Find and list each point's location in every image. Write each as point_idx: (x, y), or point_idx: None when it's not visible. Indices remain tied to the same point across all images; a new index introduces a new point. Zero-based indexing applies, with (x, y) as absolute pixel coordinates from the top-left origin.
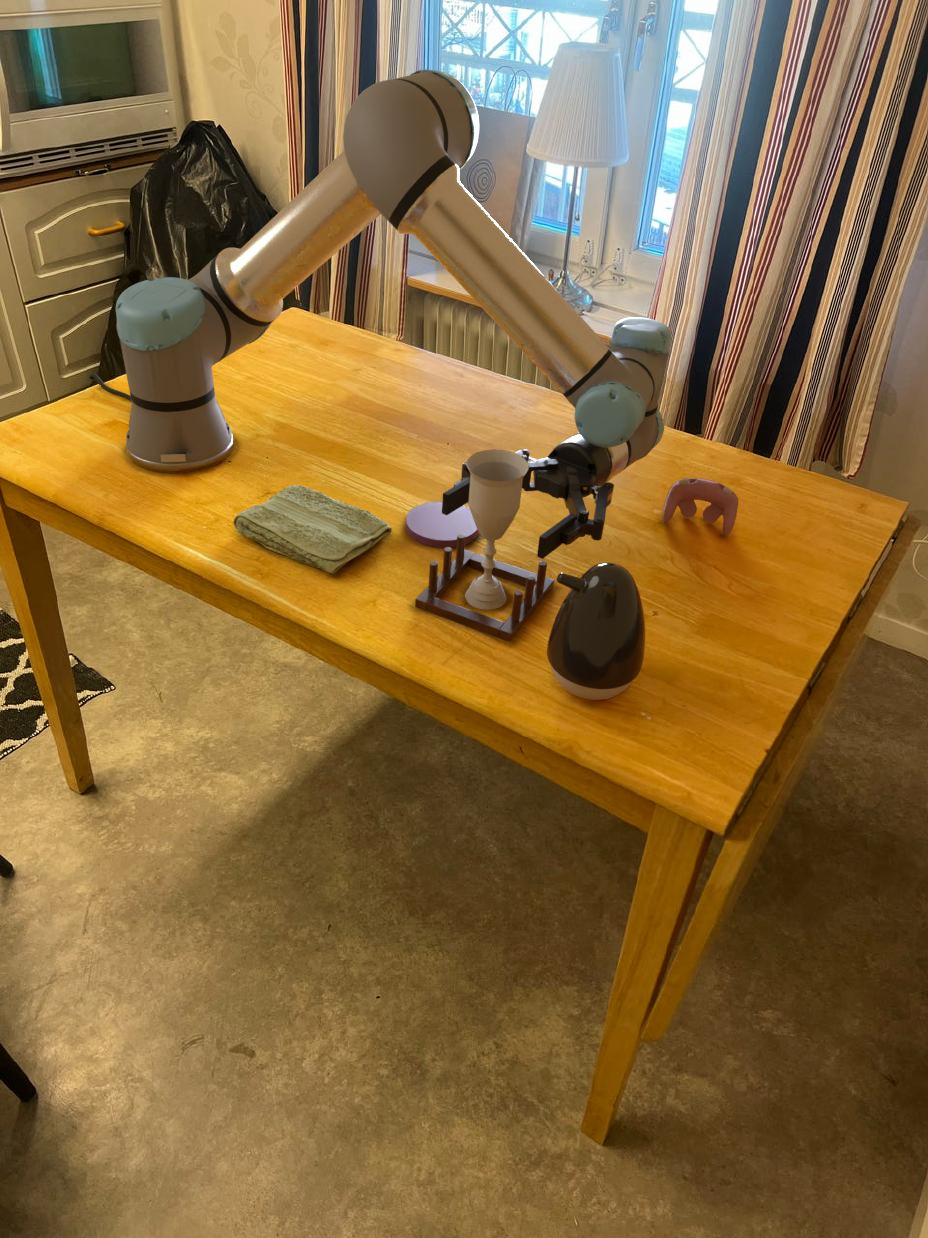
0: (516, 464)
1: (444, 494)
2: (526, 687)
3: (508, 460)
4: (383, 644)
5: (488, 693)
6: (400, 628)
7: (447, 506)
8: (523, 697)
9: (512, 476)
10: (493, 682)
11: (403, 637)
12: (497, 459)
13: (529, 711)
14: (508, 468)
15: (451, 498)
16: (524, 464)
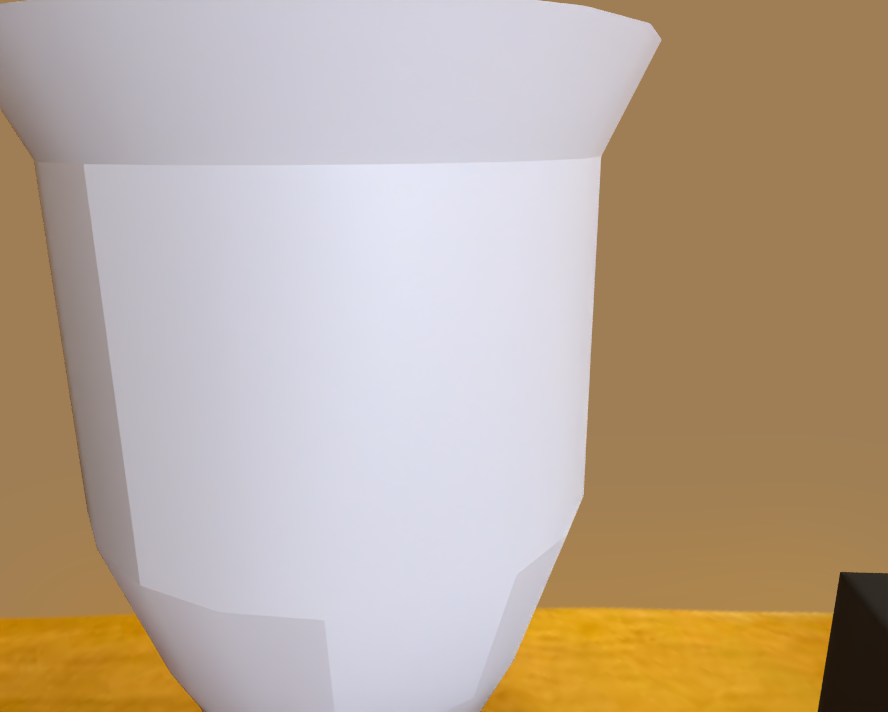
0: (164, 145)
1: (880, 576)
2: (19, 705)
3: (317, 134)
4: (530, 630)
5: (146, 638)
6: (549, 699)
7: (827, 672)
8: (28, 671)
9: (227, 349)
10: (141, 672)
11: (506, 675)
12: (479, 144)
13: (6, 643)
14: (304, 259)
15: (855, 652)
16: (14, 61)
